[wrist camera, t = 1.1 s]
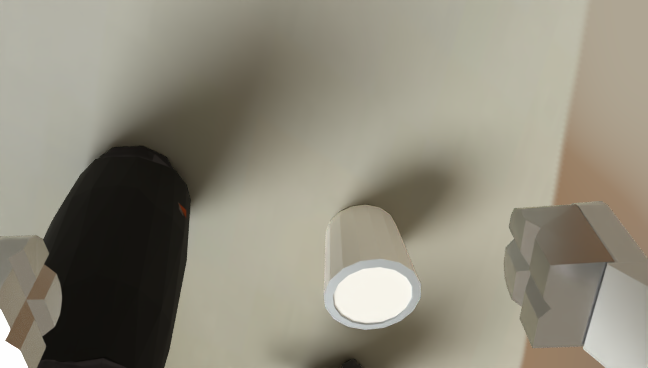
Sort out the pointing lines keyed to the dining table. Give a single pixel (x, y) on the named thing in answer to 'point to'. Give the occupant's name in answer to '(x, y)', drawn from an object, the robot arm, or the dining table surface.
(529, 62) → the dining table surface
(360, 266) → the white cylinder
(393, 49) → the dining table surface
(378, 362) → the dining table surface
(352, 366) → the figurine
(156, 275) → the portable speaker
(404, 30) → the dining table surface
